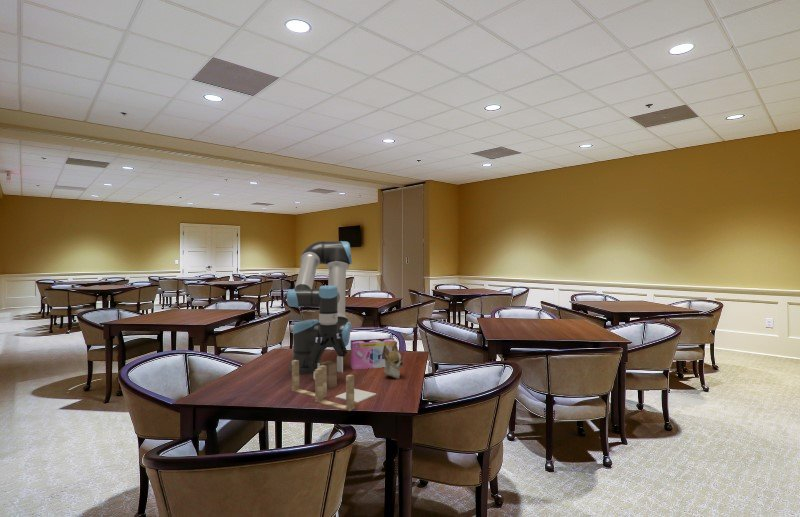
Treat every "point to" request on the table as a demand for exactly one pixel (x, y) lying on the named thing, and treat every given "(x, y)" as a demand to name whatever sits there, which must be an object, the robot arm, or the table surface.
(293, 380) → the gate
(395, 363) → the ceramic sculpture
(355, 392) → the pad
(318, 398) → the gate
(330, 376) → the walnut block
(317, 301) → the robot arm
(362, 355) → the gum box
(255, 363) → the table surface
